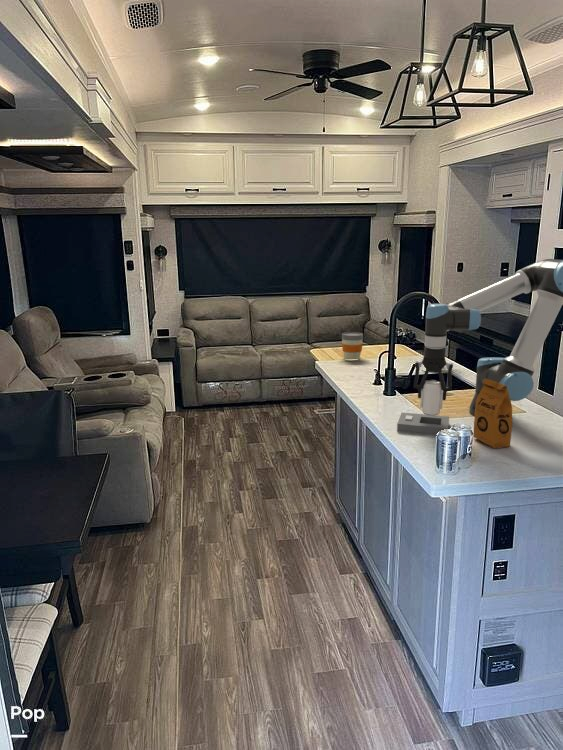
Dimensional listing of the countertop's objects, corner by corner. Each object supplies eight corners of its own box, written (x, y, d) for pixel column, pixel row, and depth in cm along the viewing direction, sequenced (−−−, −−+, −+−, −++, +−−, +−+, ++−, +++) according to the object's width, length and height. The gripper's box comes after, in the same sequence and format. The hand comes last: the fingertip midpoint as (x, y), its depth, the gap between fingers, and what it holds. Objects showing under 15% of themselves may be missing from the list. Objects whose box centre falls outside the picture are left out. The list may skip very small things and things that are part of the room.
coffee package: (490, 450, 188) (495, 388, 183) (468, 438, 200) (473, 378, 194) (515, 447, 191) (521, 385, 185) (492, 435, 202) (498, 376, 197)
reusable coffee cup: (339, 357, 331) (339, 332, 328) (359, 356, 333) (360, 331, 329) (343, 361, 319) (344, 336, 315) (365, 361, 320) (365, 335, 317)
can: (440, 416, 205) (442, 384, 202) (422, 415, 206) (424, 383, 203) (439, 410, 211) (441, 380, 208) (421, 409, 212) (423, 379, 209)
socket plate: (448, 423, 214) (449, 415, 213) (447, 436, 201) (448, 426, 201) (401, 419, 220) (401, 410, 219) (397, 431, 207) (397, 422, 206)
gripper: (462, 346, 203) (458, 406, 208) (409, 343, 209) (406, 402, 214) (462, 350, 196) (458, 412, 201) (406, 347, 202) (403, 408, 207)
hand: (431, 407), depth 208 cm, fingers closed on can, 6 cm apart
